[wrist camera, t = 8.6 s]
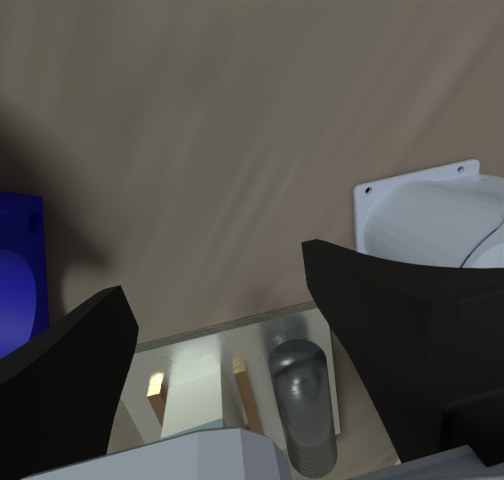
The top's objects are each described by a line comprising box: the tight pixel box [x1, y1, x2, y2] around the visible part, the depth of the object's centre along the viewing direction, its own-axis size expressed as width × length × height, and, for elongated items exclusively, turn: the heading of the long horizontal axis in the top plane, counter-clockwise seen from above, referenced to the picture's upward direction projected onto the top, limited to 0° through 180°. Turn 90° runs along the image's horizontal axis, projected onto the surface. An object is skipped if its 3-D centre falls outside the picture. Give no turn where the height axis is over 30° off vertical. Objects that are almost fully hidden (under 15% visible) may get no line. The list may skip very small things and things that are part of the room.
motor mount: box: [121, 301, 340, 478], centre depth 24 cm, size 18×16×5 cm
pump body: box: [161, 371, 245, 440], centre depth 23 cm, size 4×7×5 cm, turn 16°
